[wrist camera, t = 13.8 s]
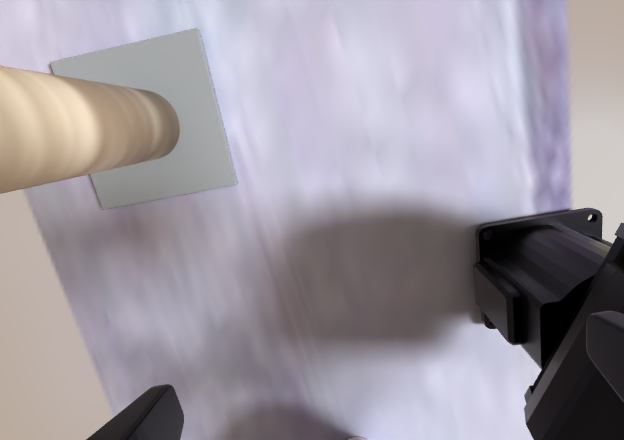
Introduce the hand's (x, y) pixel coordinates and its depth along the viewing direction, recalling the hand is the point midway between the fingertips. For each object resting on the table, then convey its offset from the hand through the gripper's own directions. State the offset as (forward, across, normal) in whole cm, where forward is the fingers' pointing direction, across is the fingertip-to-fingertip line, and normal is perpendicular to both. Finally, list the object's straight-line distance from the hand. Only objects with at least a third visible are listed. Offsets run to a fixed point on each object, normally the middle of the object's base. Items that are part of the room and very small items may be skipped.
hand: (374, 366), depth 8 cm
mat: (+14, +9, -7) cm, 18 cm away
